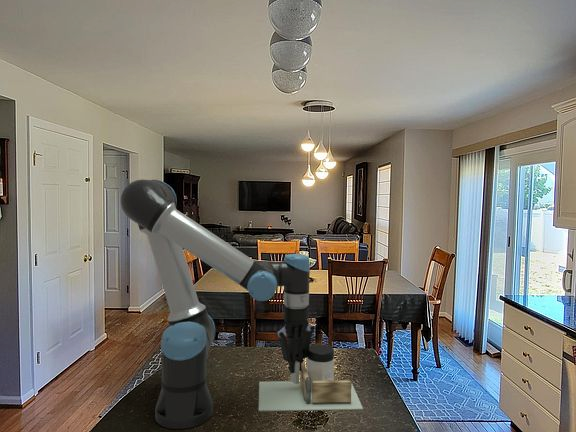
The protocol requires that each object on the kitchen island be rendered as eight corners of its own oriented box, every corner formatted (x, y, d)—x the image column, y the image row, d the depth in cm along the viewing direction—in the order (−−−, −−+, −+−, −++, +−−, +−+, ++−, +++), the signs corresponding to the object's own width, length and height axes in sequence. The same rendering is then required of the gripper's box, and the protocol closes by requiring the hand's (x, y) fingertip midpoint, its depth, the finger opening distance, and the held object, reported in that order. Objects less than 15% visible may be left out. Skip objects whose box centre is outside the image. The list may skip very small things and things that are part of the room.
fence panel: (310, 399, 120) (310, 379, 120) (304, 399, 120) (305, 380, 120) (304, 381, 131) (304, 363, 131) (299, 381, 131) (299, 363, 131)
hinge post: (305, 405, 118) (306, 379, 118) (305, 402, 120) (305, 377, 119) (310, 405, 118) (311, 379, 118) (310, 402, 120) (310, 377, 119)
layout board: (258, 411, 115) (258, 409, 115) (259, 382, 132) (259, 381, 132) (363, 409, 116) (363, 408, 116) (350, 381, 133) (350, 380, 133)
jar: (316, 396, 123) (317, 356, 122) (300, 385, 130) (301, 347, 129) (339, 388, 128) (340, 350, 127) (322, 378, 134) (324, 341, 134)
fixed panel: (312, 402, 118) (312, 383, 118) (312, 400, 120) (312, 380, 119) (351, 402, 119) (351, 382, 119) (350, 399, 120) (350, 380, 120)
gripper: (284, 311, 119) (283, 392, 121) (321, 305, 126) (319, 382, 128) (271, 305, 126) (270, 382, 127) (306, 300, 133) (305, 372, 134)
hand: (294, 382), depth 127 cm, fingers closed
